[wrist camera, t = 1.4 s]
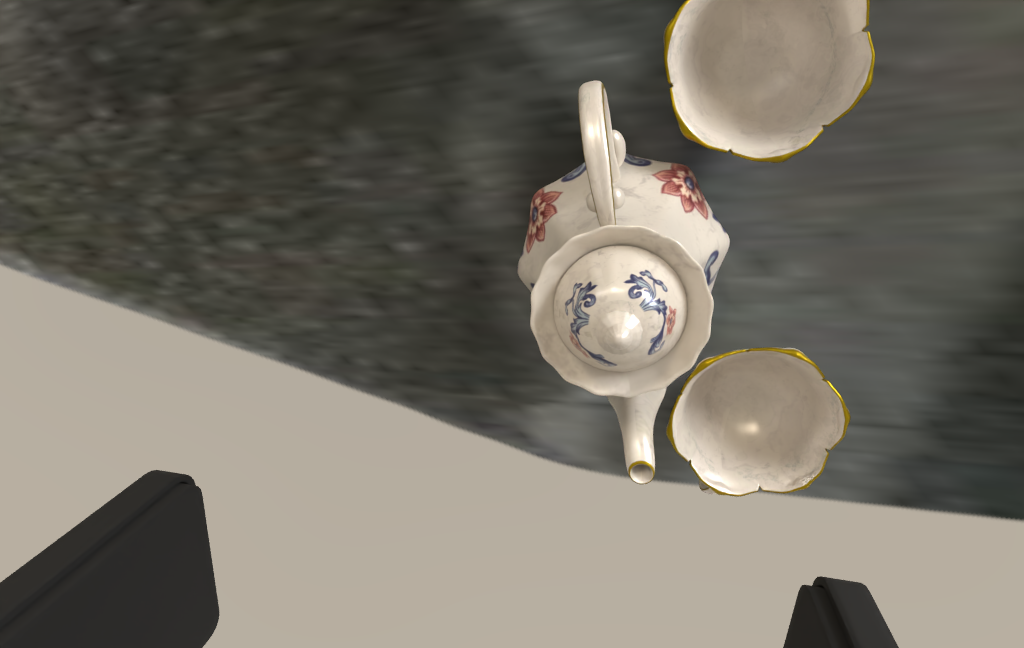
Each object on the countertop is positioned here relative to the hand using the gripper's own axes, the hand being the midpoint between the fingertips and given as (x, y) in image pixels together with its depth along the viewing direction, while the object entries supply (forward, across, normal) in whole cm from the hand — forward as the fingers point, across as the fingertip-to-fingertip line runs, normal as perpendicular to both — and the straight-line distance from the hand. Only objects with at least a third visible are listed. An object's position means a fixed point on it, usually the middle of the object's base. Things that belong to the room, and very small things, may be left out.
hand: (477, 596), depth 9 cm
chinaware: (+27, -5, 0) cm, 28 cm away
